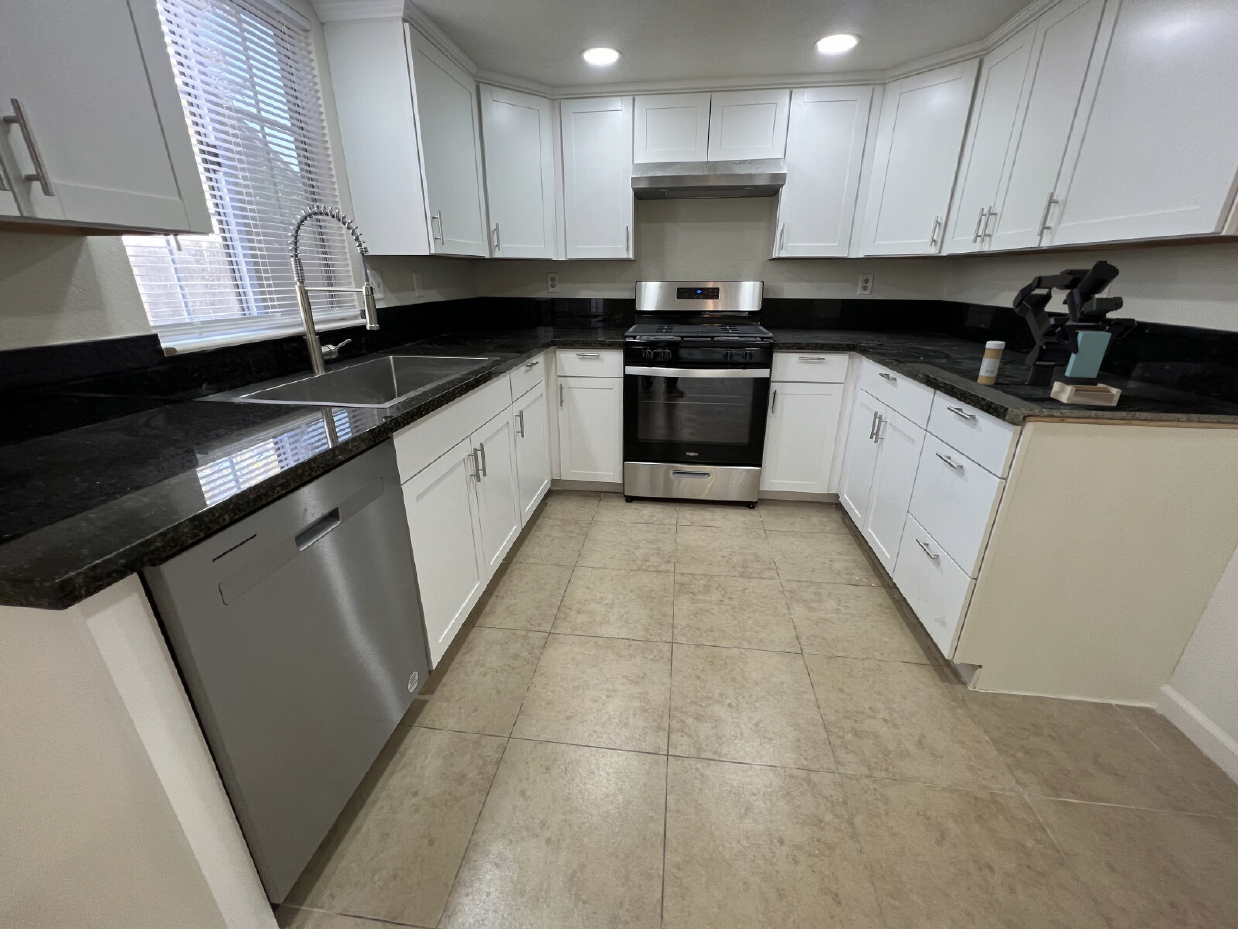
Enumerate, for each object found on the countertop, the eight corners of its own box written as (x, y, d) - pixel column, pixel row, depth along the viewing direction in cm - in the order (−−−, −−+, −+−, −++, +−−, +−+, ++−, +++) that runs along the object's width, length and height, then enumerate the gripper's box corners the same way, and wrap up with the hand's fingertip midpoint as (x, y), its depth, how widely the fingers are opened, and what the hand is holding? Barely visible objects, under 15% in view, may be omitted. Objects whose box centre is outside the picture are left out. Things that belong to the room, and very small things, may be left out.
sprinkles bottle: (995, 385, 153) (1007, 341, 148) (991, 387, 150) (1004, 342, 145) (977, 383, 156) (989, 340, 151) (974, 385, 153) (985, 341, 148)
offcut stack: (1064, 399, 132) (1069, 384, 131) (1098, 401, 130) (1103, 386, 128) (1070, 402, 129) (1075, 387, 128) (1105, 404, 127) (1110, 388, 126)
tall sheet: (1064, 375, 134) (1079, 331, 130) (1091, 376, 133) (1106, 332, 128) (1068, 376, 132) (1083, 332, 128) (1095, 377, 131) (1111, 333, 126)
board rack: (1049, 398, 136) (1054, 381, 134) (1095, 401, 133) (1102, 383, 132) (1065, 405, 129) (1071, 387, 127) (1114, 408, 126) (1121, 390, 124)
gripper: (1058, 285, 130) (1067, 333, 124) (1146, 285, 125) (1159, 335, 119) (1035, 313, 140) (1042, 359, 134) (1116, 314, 135) (1126, 362, 129)
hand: (1091, 353), depth 129 cm, fingers closed on tall sheet, 6 cm apart
